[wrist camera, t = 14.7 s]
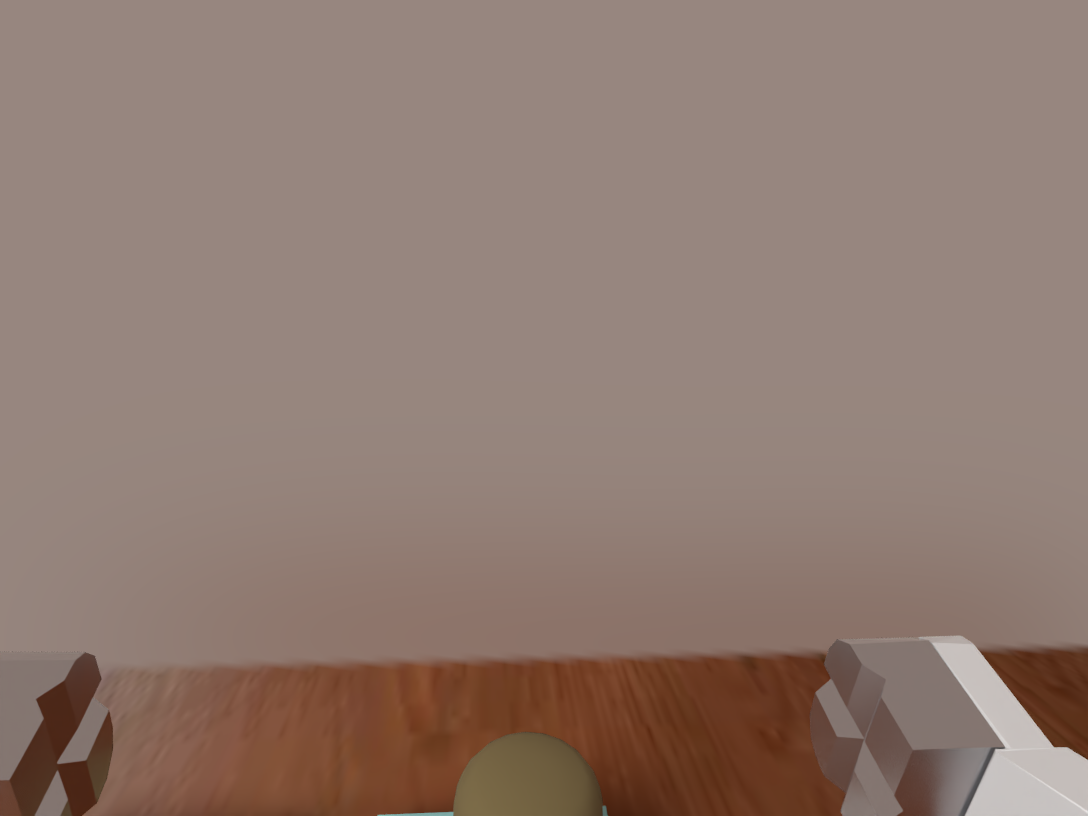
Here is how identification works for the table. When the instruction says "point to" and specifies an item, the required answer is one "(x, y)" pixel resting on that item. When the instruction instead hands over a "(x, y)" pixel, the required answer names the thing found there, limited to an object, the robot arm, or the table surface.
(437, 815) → the teal socket
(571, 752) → the olive pawn
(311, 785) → the table surface
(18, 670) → the robot arm
